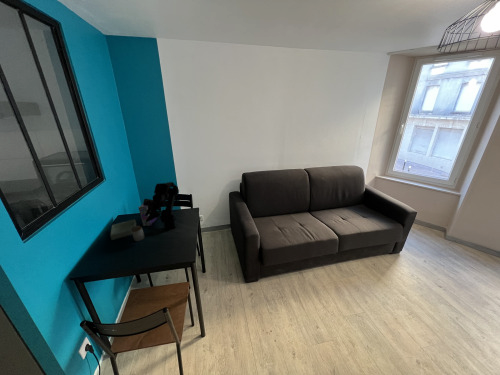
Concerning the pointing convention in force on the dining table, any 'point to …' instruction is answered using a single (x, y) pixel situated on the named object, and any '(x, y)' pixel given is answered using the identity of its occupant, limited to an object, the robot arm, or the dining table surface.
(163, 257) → the dining table surface
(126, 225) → the bin
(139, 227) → the jar
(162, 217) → the robot arm
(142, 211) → the candy box
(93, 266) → the dining table surface
